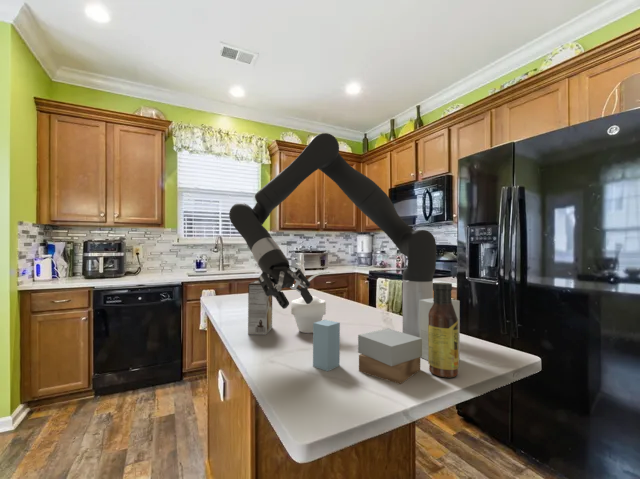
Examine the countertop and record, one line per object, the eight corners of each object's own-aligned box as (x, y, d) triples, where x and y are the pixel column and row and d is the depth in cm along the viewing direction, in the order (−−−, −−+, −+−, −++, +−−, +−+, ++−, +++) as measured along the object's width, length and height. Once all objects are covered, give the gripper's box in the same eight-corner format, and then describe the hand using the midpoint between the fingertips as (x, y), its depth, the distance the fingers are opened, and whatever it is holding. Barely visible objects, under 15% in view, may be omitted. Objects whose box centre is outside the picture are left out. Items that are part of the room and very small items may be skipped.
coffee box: (253, 327, 107) (254, 280, 107) (272, 327, 107) (273, 280, 107) (247, 334, 98) (247, 283, 98) (267, 334, 98) (268, 283, 98)
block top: (388, 344, 77) (388, 328, 77) (422, 356, 69) (422, 338, 69) (358, 352, 72) (358, 334, 72) (391, 366, 63) (391, 346, 63)
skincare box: (442, 352, 82) (442, 296, 83) (461, 360, 77) (461, 299, 77) (417, 357, 79) (418, 298, 79) (436, 365, 73) (436, 302, 74)
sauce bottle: (461, 380, 65) (461, 285, 66) (430, 377, 66) (430, 284, 67) (454, 368, 72) (454, 281, 72) (426, 366, 73) (426, 281, 73)
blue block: (325, 361, 76) (325, 319, 76) (339, 365, 73) (339, 322, 73) (312, 366, 72) (313, 322, 73) (327, 371, 69) (327, 326, 70)
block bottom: (381, 360, 77) (381, 344, 77) (420, 371, 71) (420, 354, 71) (358, 373, 70) (358, 355, 70) (400, 386, 63) (400, 366, 63)
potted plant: (285, 334, 98) (286, 255, 99) (297, 325, 110) (298, 254, 110) (324, 337, 95) (324, 255, 96) (332, 328, 106) (333, 254, 107)
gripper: (255, 248, 80) (285, 298, 72) (295, 248, 90) (325, 291, 83) (242, 267, 83) (270, 317, 75) (282, 265, 94) (310, 309, 86)
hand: (299, 304), depth 79 cm, fingers open, 8 cm apart
